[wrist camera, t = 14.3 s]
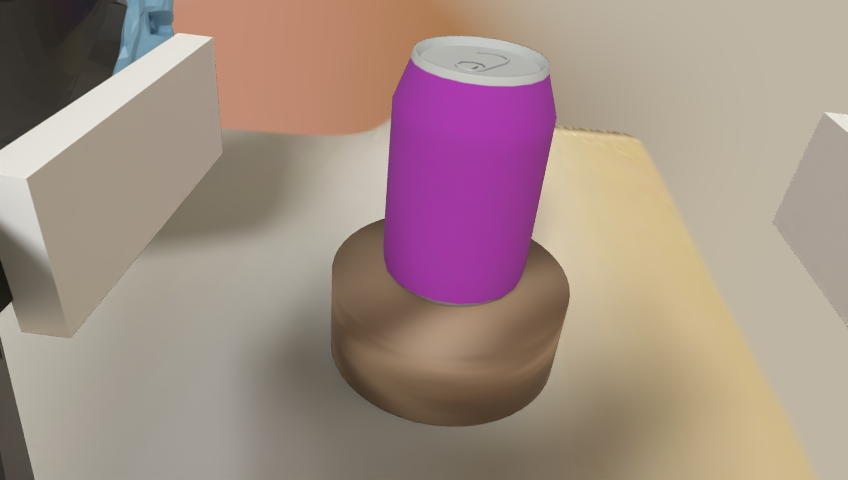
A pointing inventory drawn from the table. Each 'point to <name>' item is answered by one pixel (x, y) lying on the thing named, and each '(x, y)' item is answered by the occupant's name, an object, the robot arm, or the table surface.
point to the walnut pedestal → (443, 338)
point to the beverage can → (466, 167)
